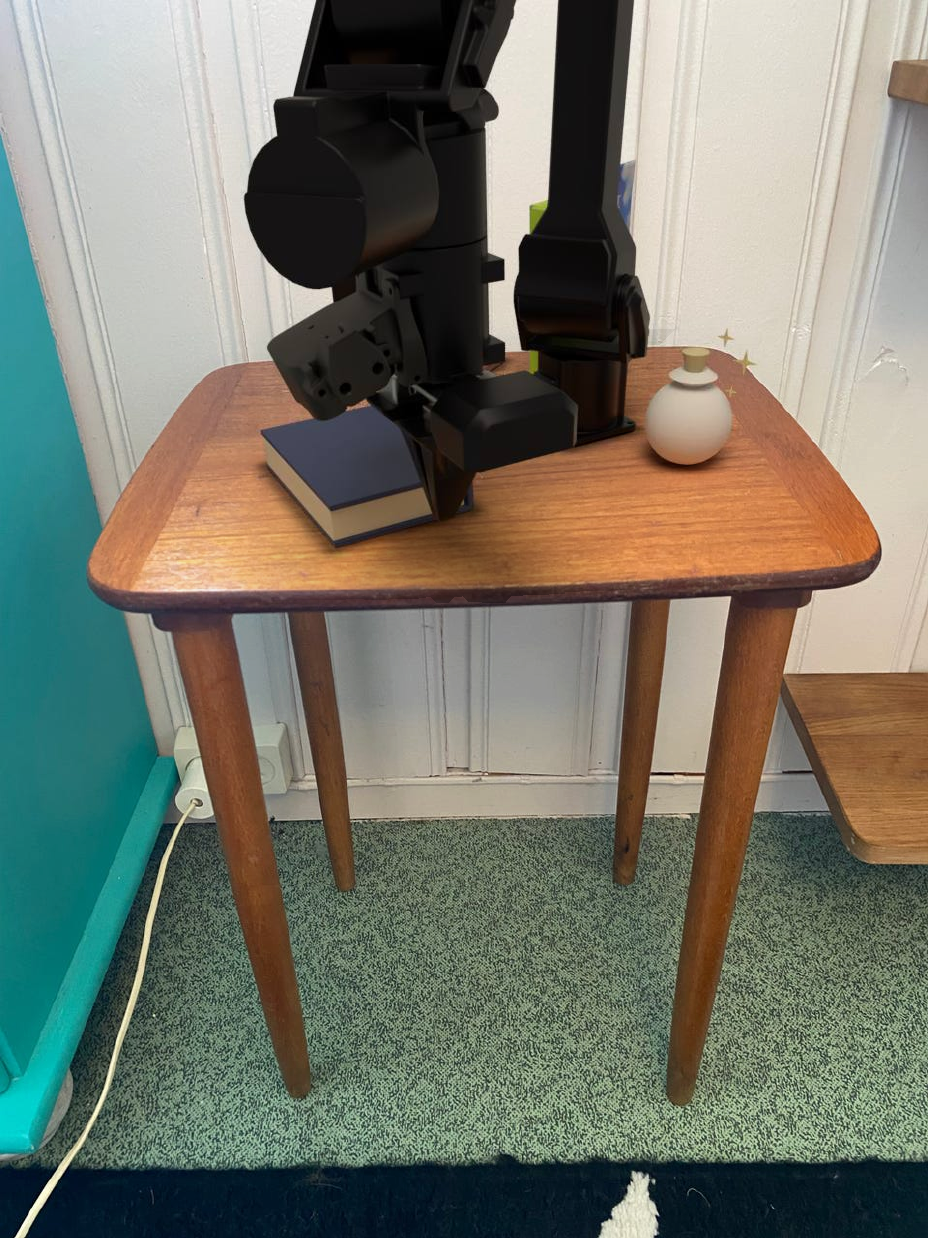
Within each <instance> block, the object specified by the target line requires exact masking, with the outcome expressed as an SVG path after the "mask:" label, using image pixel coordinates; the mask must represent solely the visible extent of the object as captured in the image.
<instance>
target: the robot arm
mask: <svg viewBox="0 0 928 1238" xmlns="http://www.w3.org/2000/svg"><path fill="white" fill-rule="evenodd" d="M516 4H517V0H315V3H314V7H313V10H312V14H311V15H312V16H311V19H310V24H309V27H308V32H307V36H306V40H305V44H304V49H303V51H302V57H301V62H300V64H299V69H298V73H297V77H296V81H295V86H294V90H293V95H292V96H286V97H279V98H276V99H275V100H274V103H273V105H272V109H273V115H274V122H275V124H274V125H275V130H276V135H275V136H274V137H272V138H271V139H270V140H268V141H267V142H266V143H265V144H263V146H262V147H261V148H260V149H259V151H258V153H257V154H256V156H255V157H254V159H253V161H252V164H251V167H250V170H249V173H248V176H247V186H246V188H247V189H246V192H245V193H244V195H243V203H244V204H243V205H244V212H245V217H246V220H247V224H248V227H249V231H250V233H251V236H252V238H253V241H254V242H255V244H256V246H257V249H258V250H259V251H260V253H261V254H262V256H263V258H264V259H265V260H266V261H267V263H268V264H269V265H270V266H271V268H273V269H274V270H275V271H276V272H277V273H278V274H279V275H280V276H282V277H283V278H284V279H286V280H288V281H289V282H291V283H292V284H294V285H297V286H300V287H302V288H305V289H308V290H323V289H330V288H332V287H333V286H336V285H338V284H340V283H342V282H344V281H346V280H348V279H350V278H353V277H356V292H355V293H353V294H351V295H349V296H347V297H345V298H344V299H342V300H340V301H337V302H334V303H333V302H330V303H329V304H327V305H326V306H323V307H322V308H320V309H319V310H316V311H315V312H314V313H312V314H310V315H309V316H307V317H305V318H304V319H301V320H300V321H299V322H297V323H295V324H294V325H292V326H290V327H289V328H287V329H284V330H283V331H282V332H280V333H279V334H277V335H276V336H274V337H273V338H272V339H270V341H269V342H268V343H267V345H266V350H267V352H268V354H269V356H270V357H271V359H272V361H273V363H274V364H275V367H276V368H277V370H278V372H279V374H280V376H281V377H282V379H283V381H284V383H285V384H286V386H287V388H288V390H289V392H290V394H291V396H292V397H293V399H294V401H295V402H296V403H297V404H300V405H301V406H302V407H303V408H304V409H305V410H306V411H307V412H308V413H309V414H310V416H311V417H312V418H314V419H316V420H319V421H326V420H330V419H333V418H335V417H337V416H339V415H340V414H342V413H344V412H345V411H347V410H348V407H349V408H353V407H354V406H356V405H358V404H359V403H361V402H363V401H366V402H367V403H368V404H369V406H373V407H374V408H375V409H376V410H378V411H379V412H380V413H381V414H383V415H384V416H385V417H386V418H388V419H389V420H390V421H392V422H393V423H394V424H396V426H398V427H399V428H400V430H401V432H402V434H403V437H404V439H405V442H406V444H407V447H408V449H409V452H410V455H411V457H412V460H413V462H414V465H415V468H416V471H417V474H418V476H419V479H420V482H421V484H422V487H423V490H424V493H425V495H426V498H427V501H428V504H429V506H430V509H431V512H432V514H433V516H434V517H435V518H436V519H437V521H438V522H441V523H442V522H446V521H449V520H453V519H454V518H455V517H456V516H457V515H458V514H457V512H458V510H459V508H460V506H461V504H462V502H463V500H464V498H465V496H466V494H467V492H468V490H469V488H470V486H471V484H472V482H473V483H474V480H475V477H476V476H477V473H484V472H489V471H493V470H496V469H499V468H503V467H507V466H511V465H514V464H515V465H516V464H519V463H522V462H526V461H530V460H533V459H537V458H541V457H545V456H548V455H552V454H555V453H560V452H563V451H568V450H571V449H574V448H575V446H577V445H581V444H585V443H589V442H592V441H597V440H601V439H604V438H608V437H612V436H616V435H619V434H624V433H627V432H630V431H634V430H636V429H637V421H635V420H633V419H632V418H629V416H628V417H627V416H626V415H625V413H626V412H625V410H626V409H625V408H626V398H627V397H626V396H627V384H628V383H627V381H628V367H629V363H630V362H631V361H632V360H636V359H641V358H645V357H646V356H647V355H648V346H649V336H650V322H651V315H650V310H649V308H648V304H647V301H646V298H645V295H644V292H643V288H642V284H641V281H640V278H639V276H638V275H636V263H637V245H636V242H635V241H634V238H633V236H632V234H631V231H630V232H629V230H628V228H627V225H626V223H625V221H624V219H623V217H622V215H621V213H620V210H619V208H618V206H617V199H618V186H619V174H620V164H621V162H622V150H623V139H624V138H623V137H624V125H625V113H626V104H627V103H626V102H627V101H626V100H627V92H628V91H627V90H628V78H629V77H628V76H629V65H630V55H631V44H632V43H631V42H632V32H633V31H632V30H633V19H634V7H635V6H634V5H635V0H557V11H556V12H557V13H556V31H555V32H556V33H555V52H554V53H555V54H554V71H553V73H554V75H553V91H552V112H551V130H550V131H551V133H550V149H549V150H550V152H549V170H548V190H547V191H548V192H547V200H548V203H547V208H546V209H545V211H544V213H543V214H542V216H541V218H540V219H539V221H538V223H537V224H536V226H535V227H534V229H533V231H532V232H531V234H530V233H525V234H524V235H523V237H522V239H521V240H520V243H519V245H518V249H517V250H518V273H517V275H516V279H515V281H514V287H513V309H514V315H515V321H516V326H517V327H516V328H517V333H518V339H519V346H520V350H521V352H530V351H538V371H535V372H534V374H531V373H529V371H528V370H526V369H524V370H519V371H514V372H509V373H506V374H501V375H498V374H496V373H494V372H492V371H489V370H486V369H485V370H484V367H486V366H492V365H496V364H498V363H501V362H502V363H505V362H506V341H504V340H502V339H500V338H498V337H496V336H494V335H492V334H490V304H489V303H490V297H489V294H490V291H489V289H490V288H489V284H491V283H498V282H503V281H505V280H506V274H505V273H506V268H505V263H506V259H505V258H503V257H501V256H498V255H495V254H493V253H490V252H489V240H488V239H489V237H488V235H489V234H488V232H489V231H488V183H487V182H488V181H487V178H488V177H487V132H486V131H487V129H486V124H487V123H489V122H492V121H495V120H497V118H498V117H499V113H500V107H499V105H498V102H497V101H496V99H495V97H494V95H493V94H492V93H491V92H490V91H489V90H487V89H486V87H487V85H488V82H489V79H490V76H491V73H492V72H493V68H494V66H495V62H496V59H497V57H498V55H499V52H500V50H501V49H502V46H503V44H504V42H505V40H506V38H507V36H508V33H509V30H510V27H511V24H512V21H513V19H514V17H515V6H516ZM502 363H501V364H502Z"/></svg>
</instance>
